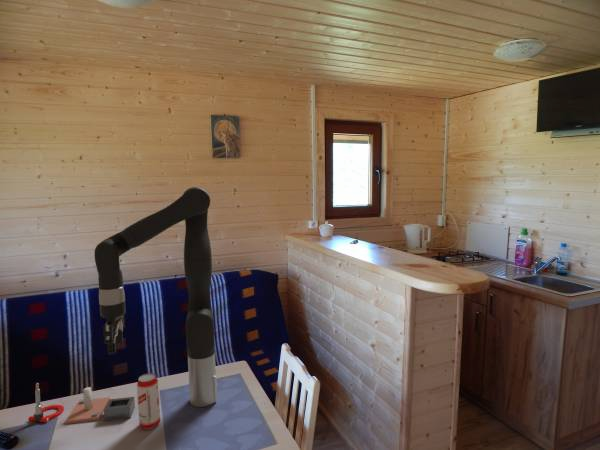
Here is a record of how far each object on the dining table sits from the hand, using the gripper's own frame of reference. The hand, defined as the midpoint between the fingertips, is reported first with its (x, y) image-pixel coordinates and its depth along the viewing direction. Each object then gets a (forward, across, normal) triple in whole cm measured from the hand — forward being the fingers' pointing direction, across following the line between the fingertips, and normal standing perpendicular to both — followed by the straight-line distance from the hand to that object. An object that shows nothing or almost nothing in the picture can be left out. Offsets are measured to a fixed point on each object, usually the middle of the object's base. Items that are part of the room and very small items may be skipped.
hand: (115, 348), depth 127 cm
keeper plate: (+23, +4, +11) cm, 26 cm away
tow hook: (+23, +5, +24) cm, 34 cm away
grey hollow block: (+23, 0, 0) cm, 23 cm away
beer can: (+23, -8, -11) cm, 27 cm away
